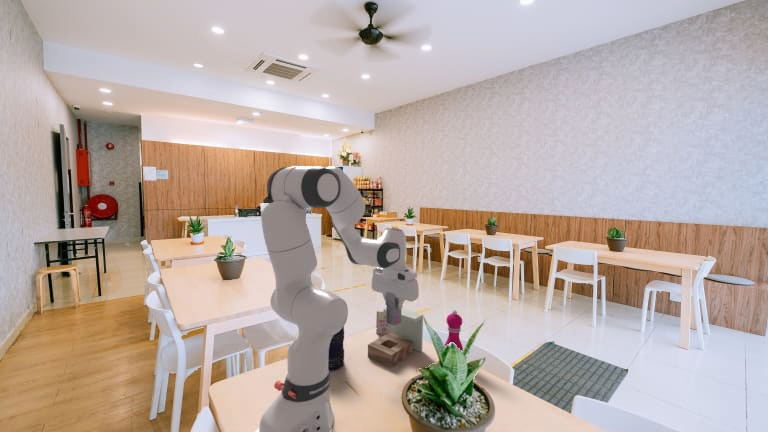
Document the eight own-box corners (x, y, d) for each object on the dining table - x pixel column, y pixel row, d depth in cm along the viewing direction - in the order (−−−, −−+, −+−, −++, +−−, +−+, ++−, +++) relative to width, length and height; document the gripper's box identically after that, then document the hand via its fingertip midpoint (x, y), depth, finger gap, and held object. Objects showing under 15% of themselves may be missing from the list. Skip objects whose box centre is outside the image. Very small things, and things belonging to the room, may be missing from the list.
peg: (394, 325, 115) (394, 294, 114) (386, 322, 118) (386, 291, 117) (401, 322, 118) (401, 291, 117) (393, 319, 121) (393, 289, 120)
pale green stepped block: (414, 356, 124) (414, 319, 123) (383, 344, 134) (383, 309, 133) (422, 351, 129) (423, 314, 127) (391, 339, 139) (392, 305, 138)
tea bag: (376, 330, 147) (377, 309, 147) (391, 331, 147) (391, 310, 146) (376, 334, 144) (376, 312, 143) (390, 334, 143) (391, 313, 143)
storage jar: (313, 369, 114) (313, 330, 113) (323, 356, 124) (323, 319, 122) (339, 373, 112) (339, 332, 111) (347, 358, 122) (347, 321, 121)
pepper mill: (464, 365, 118) (466, 314, 117) (445, 365, 118) (447, 313, 117) (460, 355, 125) (461, 307, 124) (442, 355, 126) (443, 306, 124)
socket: (391, 367, 116) (391, 354, 116) (367, 356, 124) (367, 344, 123) (412, 353, 127) (413, 341, 126) (389, 343, 134) (389, 332, 134)
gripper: (367, 268, 121) (368, 302, 122) (411, 277, 108) (410, 316, 109) (378, 264, 125) (378, 298, 127) (421, 274, 112) (420, 311, 114)
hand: (393, 306), depth 118 cm, fingers closed on peg, 4 cm apart
